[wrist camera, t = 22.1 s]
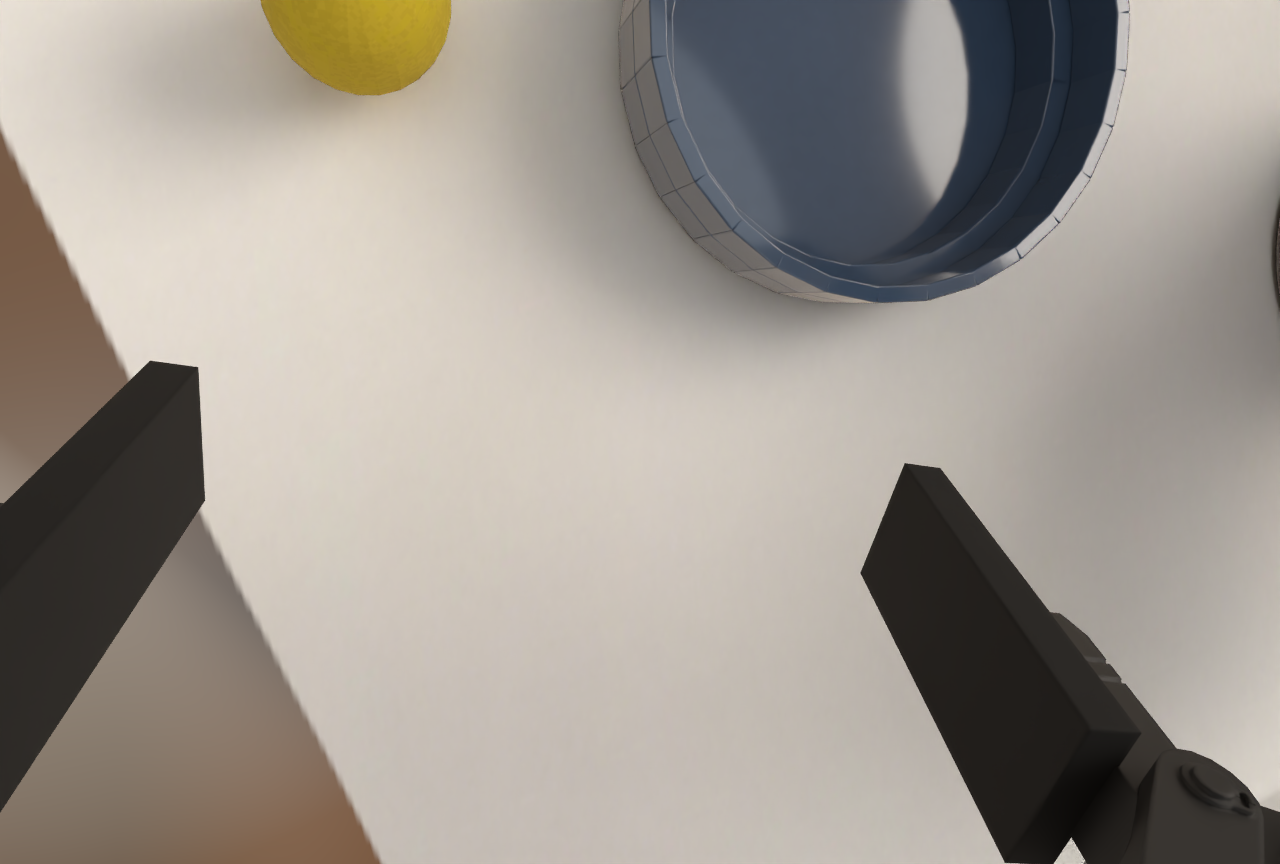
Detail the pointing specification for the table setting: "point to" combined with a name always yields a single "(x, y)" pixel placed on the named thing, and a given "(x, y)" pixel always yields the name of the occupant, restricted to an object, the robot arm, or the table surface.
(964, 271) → the bowl
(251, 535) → the table surface
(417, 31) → the lemon
